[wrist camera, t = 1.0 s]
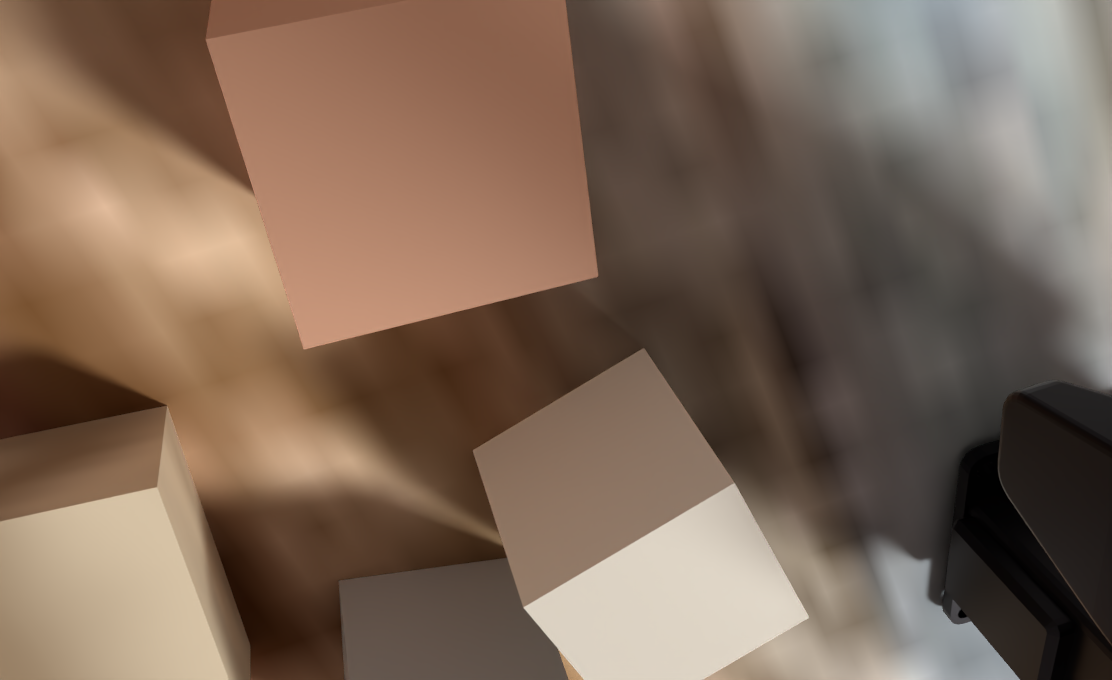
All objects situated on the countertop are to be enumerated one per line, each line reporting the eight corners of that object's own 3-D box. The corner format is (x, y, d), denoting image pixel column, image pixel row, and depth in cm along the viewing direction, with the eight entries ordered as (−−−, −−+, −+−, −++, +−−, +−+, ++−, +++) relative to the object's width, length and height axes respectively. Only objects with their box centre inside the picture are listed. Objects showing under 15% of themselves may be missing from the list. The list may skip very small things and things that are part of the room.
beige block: (168, 396, 20) (156, 487, 17) (250, 634, 24) (250, 738, 21) (-215, 473, 19) (-286, 584, 16) (-65, 713, 22) (-104, 833, 20)
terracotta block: (483, -82, 17) (562, -30, 13) (522, 164, 19) (598, 276, 15) (216, -33, 16) (205, 40, 12) (291, 216, 18) (303, 349, 14)
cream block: (642, 346, 22) (734, 483, 18) (714, 472, 25) (809, 617, 20) (472, 448, 22) (523, 607, 18) (559, 563, 25) (622, 725, 21)
